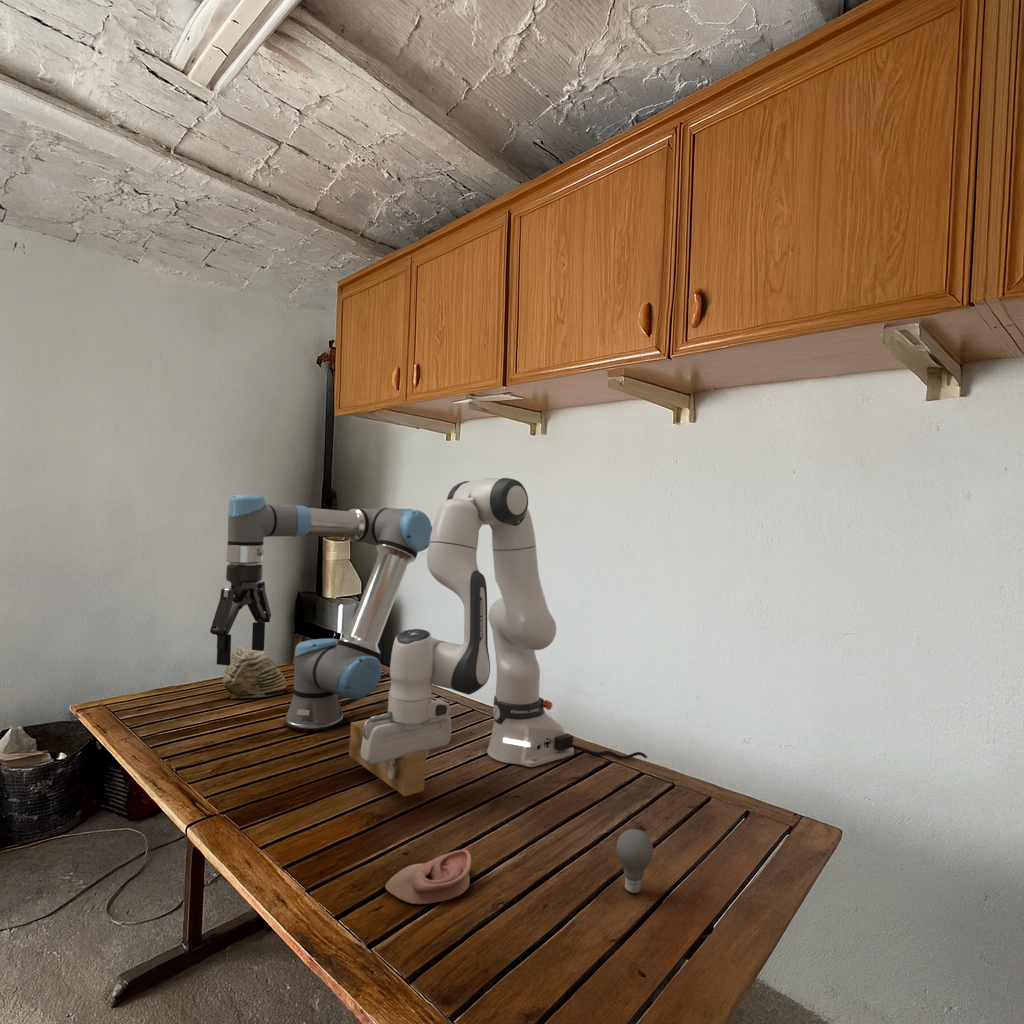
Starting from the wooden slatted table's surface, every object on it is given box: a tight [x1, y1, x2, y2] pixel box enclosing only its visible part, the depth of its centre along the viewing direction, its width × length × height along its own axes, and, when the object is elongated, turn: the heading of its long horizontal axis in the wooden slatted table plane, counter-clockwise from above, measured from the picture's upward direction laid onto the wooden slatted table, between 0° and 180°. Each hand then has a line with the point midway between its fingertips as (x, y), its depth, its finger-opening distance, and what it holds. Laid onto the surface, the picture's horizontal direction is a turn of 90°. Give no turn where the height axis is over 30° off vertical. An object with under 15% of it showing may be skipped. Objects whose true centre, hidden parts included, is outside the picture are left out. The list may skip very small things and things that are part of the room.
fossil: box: [222, 646, 288, 699], centre depth 198 cm, size 9×18×15 cm, turn 132°
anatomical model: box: [385, 849, 472, 905], centre depth 105 cm, size 13×4×12 cm
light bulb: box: [615, 828, 654, 894], centre depth 106 cm, size 6×6×10 cm
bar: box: [348, 718, 427, 797], centre depth 139 cm, size 24×5×8 cm, turn 41°
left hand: (241, 657), depth 143 cm, fingers open, 13 cm apart
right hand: (405, 774), depth 133 cm, fingers closed on bar, 5 cm apart
